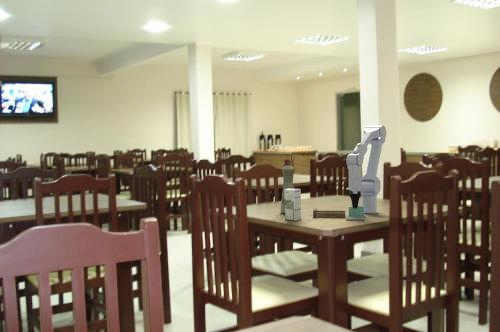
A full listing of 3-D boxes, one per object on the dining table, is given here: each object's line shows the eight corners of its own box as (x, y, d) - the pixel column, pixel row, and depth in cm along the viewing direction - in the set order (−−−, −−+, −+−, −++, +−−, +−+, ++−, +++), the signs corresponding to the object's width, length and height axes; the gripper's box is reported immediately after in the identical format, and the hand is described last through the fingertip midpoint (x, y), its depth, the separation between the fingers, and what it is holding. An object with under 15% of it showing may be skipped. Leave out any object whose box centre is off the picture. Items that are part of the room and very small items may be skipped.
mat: (346, 217, 253) (346, 216, 253) (363, 217, 252) (363, 216, 252) (346, 220, 245) (346, 219, 245) (364, 220, 244) (364, 219, 244)
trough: (314, 214, 265) (314, 207, 264) (345, 215, 262) (345, 207, 262) (313, 217, 256) (313, 210, 256) (345, 217, 254) (345, 210, 254)
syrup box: (301, 219, 251) (301, 188, 251) (294, 221, 247) (293, 189, 246) (291, 218, 255) (291, 187, 254) (284, 219, 251) (283, 188, 250)
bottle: (284, 211, 279) (283, 157, 278) (300, 212, 275) (299, 157, 274) (277, 213, 272) (276, 158, 270) (294, 214, 268) (293, 158, 266)
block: (348, 216, 259) (348, 205, 259) (363, 216, 258) (363, 205, 258) (348, 217, 256) (348, 206, 255) (363, 217, 254) (363, 206, 254)
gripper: (346, 177, 264) (346, 205, 265) (346, 180, 250) (346, 209, 250) (360, 177, 263) (361, 205, 263) (361, 180, 248) (362, 209, 249)
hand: (354, 207), depth 257 cm, fingers open, 7 cm apart
